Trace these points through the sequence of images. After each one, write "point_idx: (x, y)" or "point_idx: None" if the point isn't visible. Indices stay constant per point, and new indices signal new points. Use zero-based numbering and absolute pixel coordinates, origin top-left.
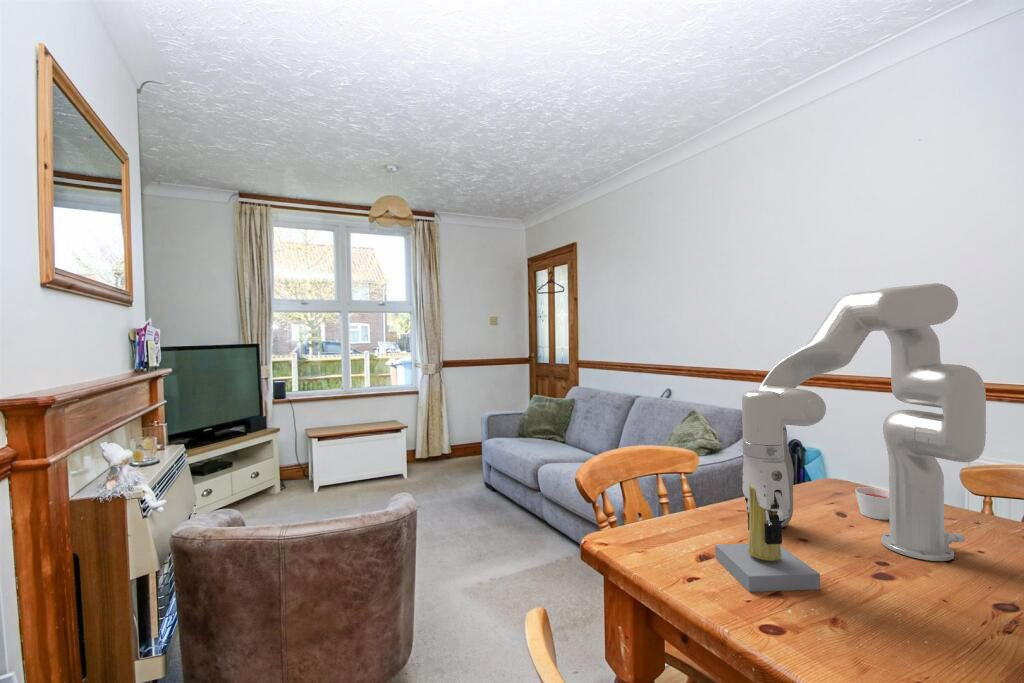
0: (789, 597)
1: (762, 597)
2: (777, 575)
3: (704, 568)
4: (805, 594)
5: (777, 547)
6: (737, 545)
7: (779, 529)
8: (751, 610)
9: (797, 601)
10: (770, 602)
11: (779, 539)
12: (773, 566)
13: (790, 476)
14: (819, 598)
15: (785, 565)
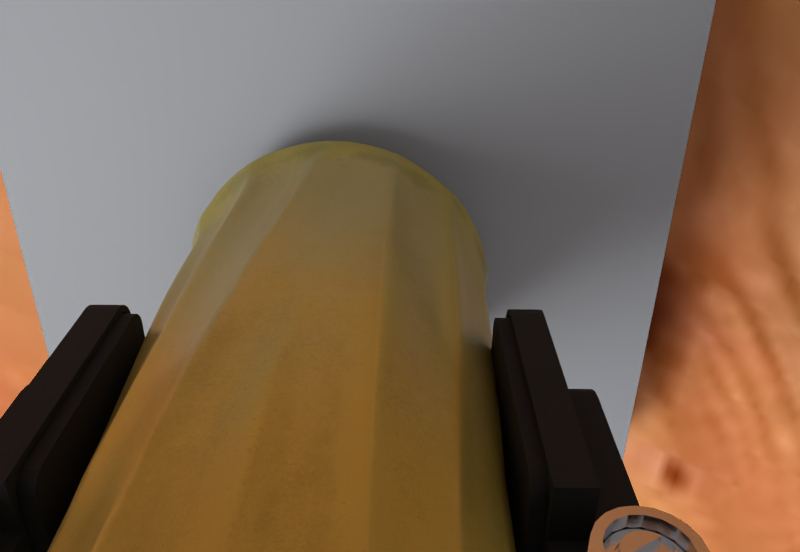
0: (709, 236)
1: (662, 391)
2: (649, 324)
3: None
4: (708, 97)
5: (465, 281)
6: None
7: (632, 497)
8: (762, 500)
9: (769, 214)
10: (725, 377)
11: (595, 398)
12: (503, 274)
13: None
14: (789, 23)
15: (503, 162)
